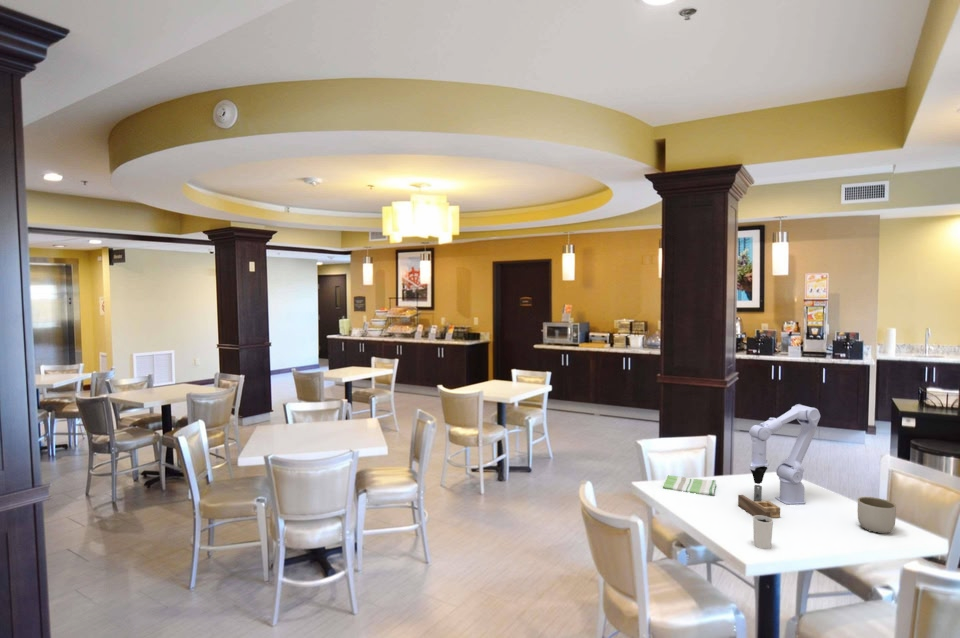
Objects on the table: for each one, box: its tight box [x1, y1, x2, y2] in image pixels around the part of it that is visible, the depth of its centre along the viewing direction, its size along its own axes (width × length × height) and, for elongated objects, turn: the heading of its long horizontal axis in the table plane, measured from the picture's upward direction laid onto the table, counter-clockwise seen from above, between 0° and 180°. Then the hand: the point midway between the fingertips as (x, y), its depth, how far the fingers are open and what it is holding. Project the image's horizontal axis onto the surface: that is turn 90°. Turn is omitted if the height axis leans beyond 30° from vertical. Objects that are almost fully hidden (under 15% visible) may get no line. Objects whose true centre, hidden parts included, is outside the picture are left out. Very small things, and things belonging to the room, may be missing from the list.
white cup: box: [752, 515, 774, 550], centre depth 208 cm, size 7×7×10 cm
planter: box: [857, 496, 897, 534], centre depth 223 cm, size 12×12×11 cm
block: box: [752, 500, 781, 519], centre depth 237 cm, size 8×8×4 cm
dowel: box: [753, 484, 763, 501], centre depth 250 cm, size 3×3×8 cm
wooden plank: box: [737, 494, 770, 517], centre depth 237 cm, size 2×20×5 cm, turn 5°
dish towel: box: [662, 474, 717, 497], centre depth 271 cm, size 17×23×4 cm
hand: (758, 482), depth 249 cm, fingers closed
